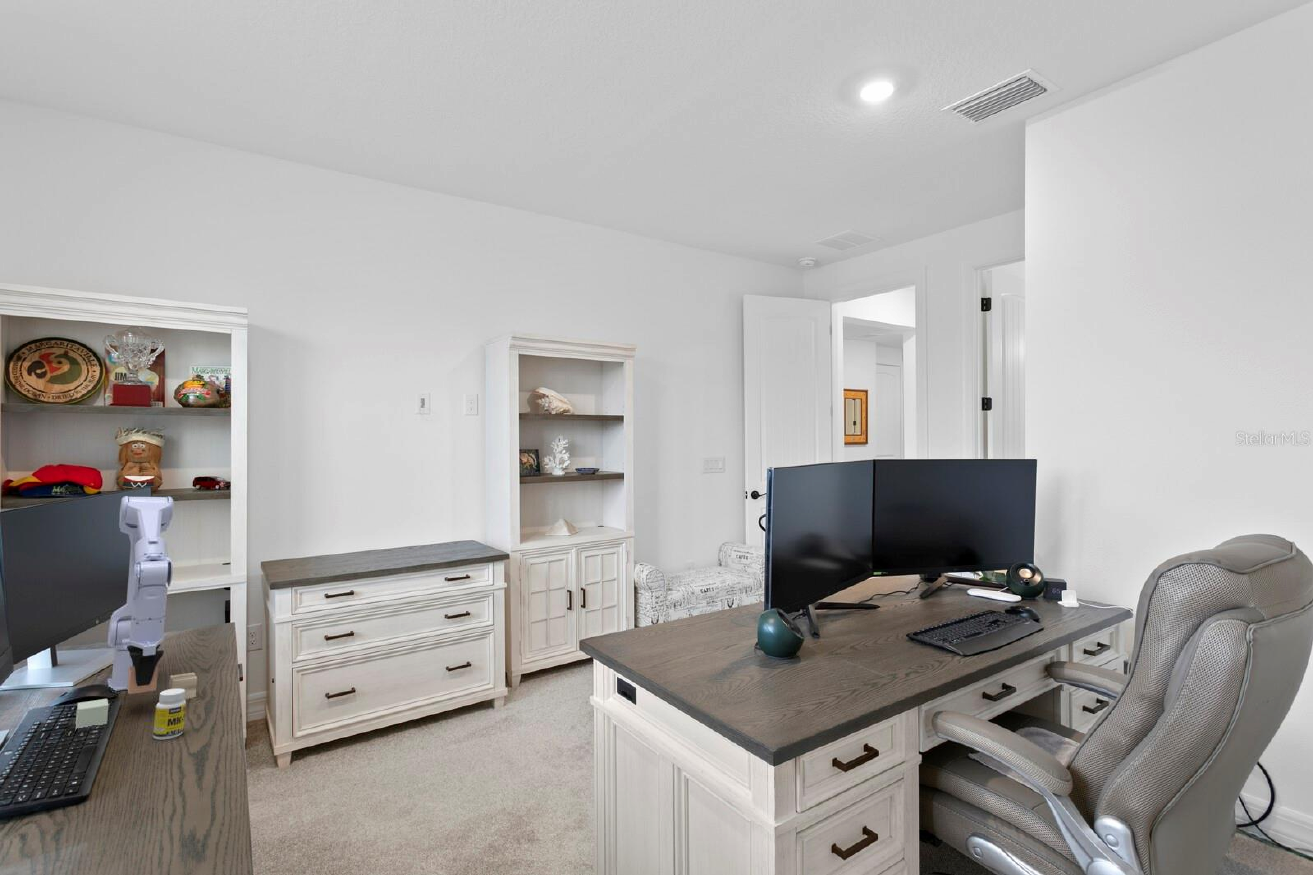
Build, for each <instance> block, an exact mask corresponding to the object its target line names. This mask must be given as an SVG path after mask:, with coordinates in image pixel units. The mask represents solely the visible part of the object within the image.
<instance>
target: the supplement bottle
mask: <svg viewBox="0 0 1313 875" xmlns="http://www.w3.org/2000/svg"><path fill="white" fill-rule="evenodd" d="M184 696H185V690H184V689H169V688H168V689H165V690H163V691H161V692H160V693H159V698H158V700H159V702H158V703H157V704H156V705H155V714H154V722H153V730H152V737H153V739H155V740H158V741H159V740H162V741H163V740H172V739H176V738H178V737H179V736H181V735H182V734H183V733H184V725H185V717H186V716H185V715H186V707H187V706H186V705H187V701H186V699H183V698H184Z"/></svg>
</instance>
